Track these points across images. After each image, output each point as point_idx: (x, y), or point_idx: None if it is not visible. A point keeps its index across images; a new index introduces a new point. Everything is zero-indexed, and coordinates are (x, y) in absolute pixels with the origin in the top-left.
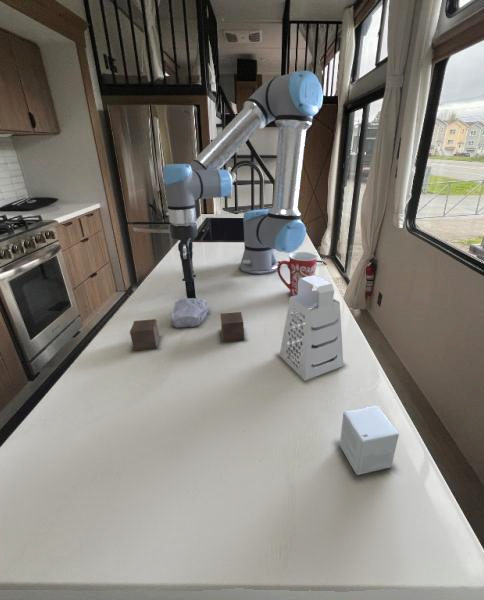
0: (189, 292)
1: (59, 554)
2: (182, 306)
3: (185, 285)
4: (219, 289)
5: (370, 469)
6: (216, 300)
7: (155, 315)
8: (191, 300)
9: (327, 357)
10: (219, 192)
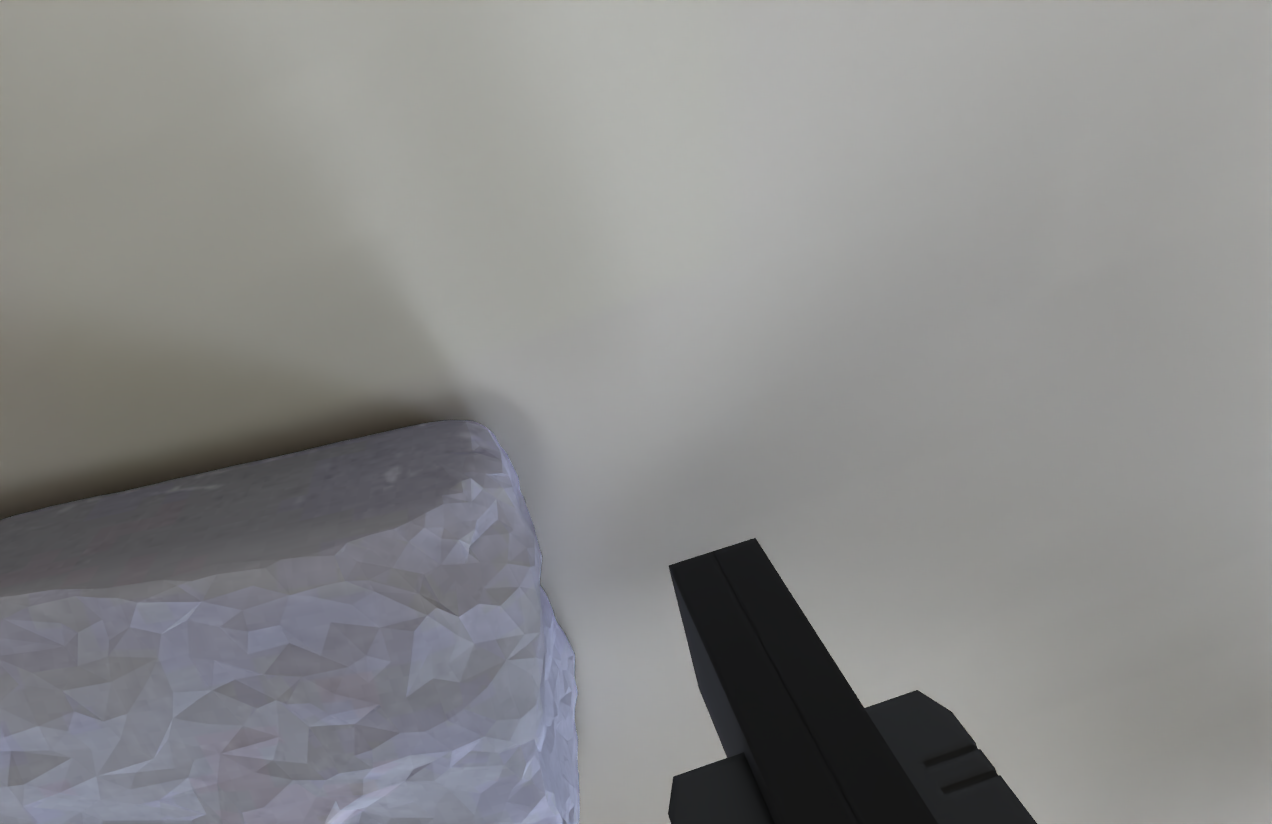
0: (724, 720)
1: None
2: (152, 750)
3: (781, 812)
4: (1161, 707)
5: None
6: None
7: (167, 4)
8: (442, 809)
9: None
10: None
